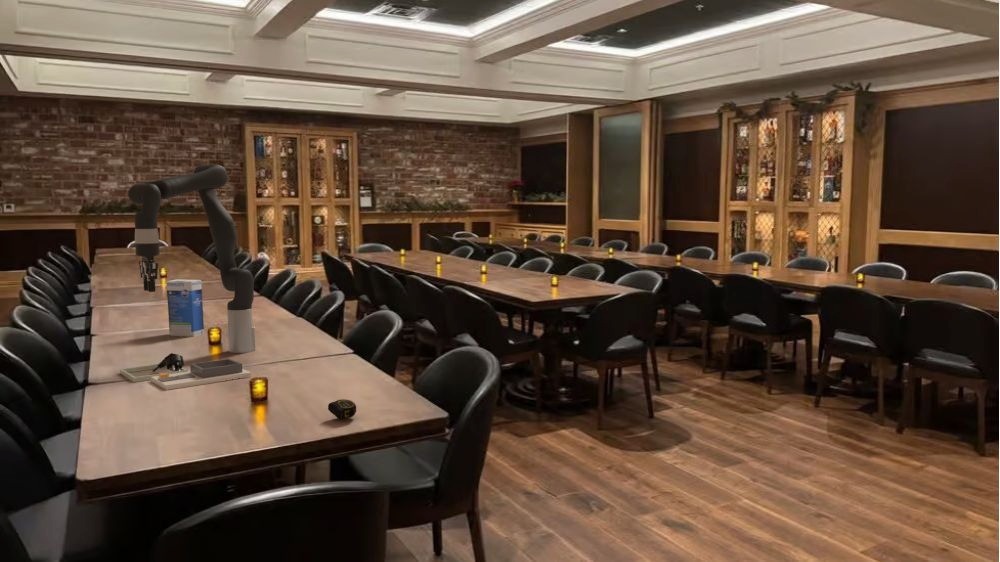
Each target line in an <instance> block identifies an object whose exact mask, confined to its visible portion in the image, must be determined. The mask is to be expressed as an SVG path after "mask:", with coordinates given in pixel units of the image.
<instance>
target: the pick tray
mask: <svg viewBox="0 0 1000 562" xmlns="http://www.w3.org/2000/svg"><path fill="white" fill-rule="evenodd" d="M158 364H159V363H156V364H155V363H154V364H147V365H141V366H140V365H139V366H133V367H128V368H127V367H125V368H120V369H119V374H120V375H122V376H123V377H124V378H127V379H128V380H129V381H131V382H133V383H138V382H145V381H151V377H153V376H159V374H163V373H164V372H161V373H154V374H148V375H141V376H135V375H133V374H132V373H135V372H142V371H149V370H154V369H155V368H157V367H158ZM163 368H167V365H166V366H165V367H163ZM163 368H162V369H163ZM188 371H189V369H187V368H185V367H184V366H183V367H182V368H181V369H180V371H178V370H175V371H169V372H168V371H167V373H168V374H174V373H181V372H188Z"/></svg>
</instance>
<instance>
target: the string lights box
mask: <svg viewBox="0 0 1000 562" xmlns="http://www.w3.org/2000/svg"><path fill="white" fill-rule="evenodd" d="M202 288H203V286H202V280H201V279H173V280H172V279H171V280H166V295H167V311H168V312H167V313H168V327H169V336H171V337H175V336H176V337H189V338H191V337H192V338H194V337H197V336H201V335H205V328H204V327H205V326H204V308H203V307H204V306H203V304H204V303H203V289H202Z"/></svg>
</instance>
